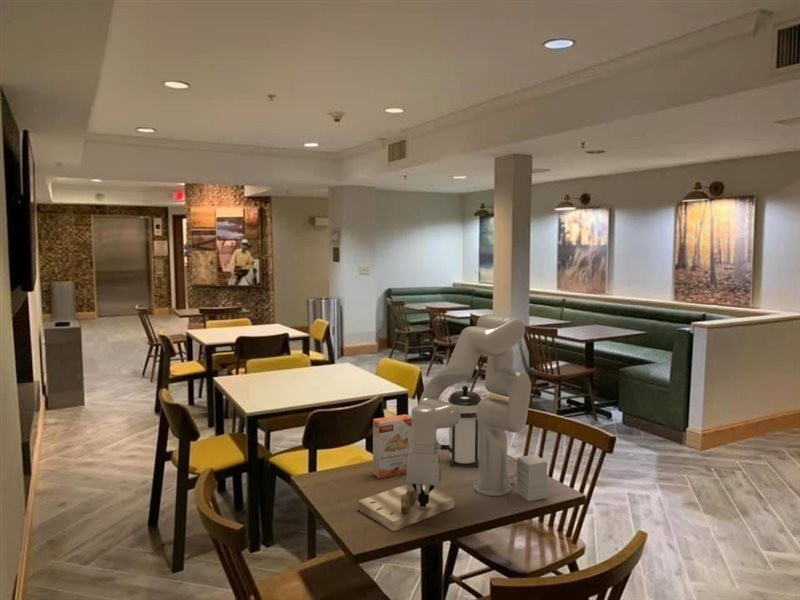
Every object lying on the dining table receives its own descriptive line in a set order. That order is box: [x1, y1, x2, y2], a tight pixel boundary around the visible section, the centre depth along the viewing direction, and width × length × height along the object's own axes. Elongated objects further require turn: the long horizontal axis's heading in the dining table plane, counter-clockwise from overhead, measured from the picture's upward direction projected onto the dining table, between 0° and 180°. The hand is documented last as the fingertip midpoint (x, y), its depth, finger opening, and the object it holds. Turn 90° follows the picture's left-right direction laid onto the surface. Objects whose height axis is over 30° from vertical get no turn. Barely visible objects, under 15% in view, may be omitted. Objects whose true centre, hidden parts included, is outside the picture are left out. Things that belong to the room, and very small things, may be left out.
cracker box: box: [372, 413, 412, 480], centre depth 215 cm, size 14×6×21 cm, turn 117°
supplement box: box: [516, 454, 548, 502], centre depth 196 cm, size 7×7×13 cm
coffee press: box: [436, 385, 483, 469], centre depth 225 cm, size 17×16×30 cm
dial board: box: [357, 484, 456, 532], centre depth 187 cm, size 25×18×3 cm
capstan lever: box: [401, 485, 423, 514], centre depth 183 cm, size 18×5×5 cm, turn 164°
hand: (423, 504), depth 180 cm, fingers closed
